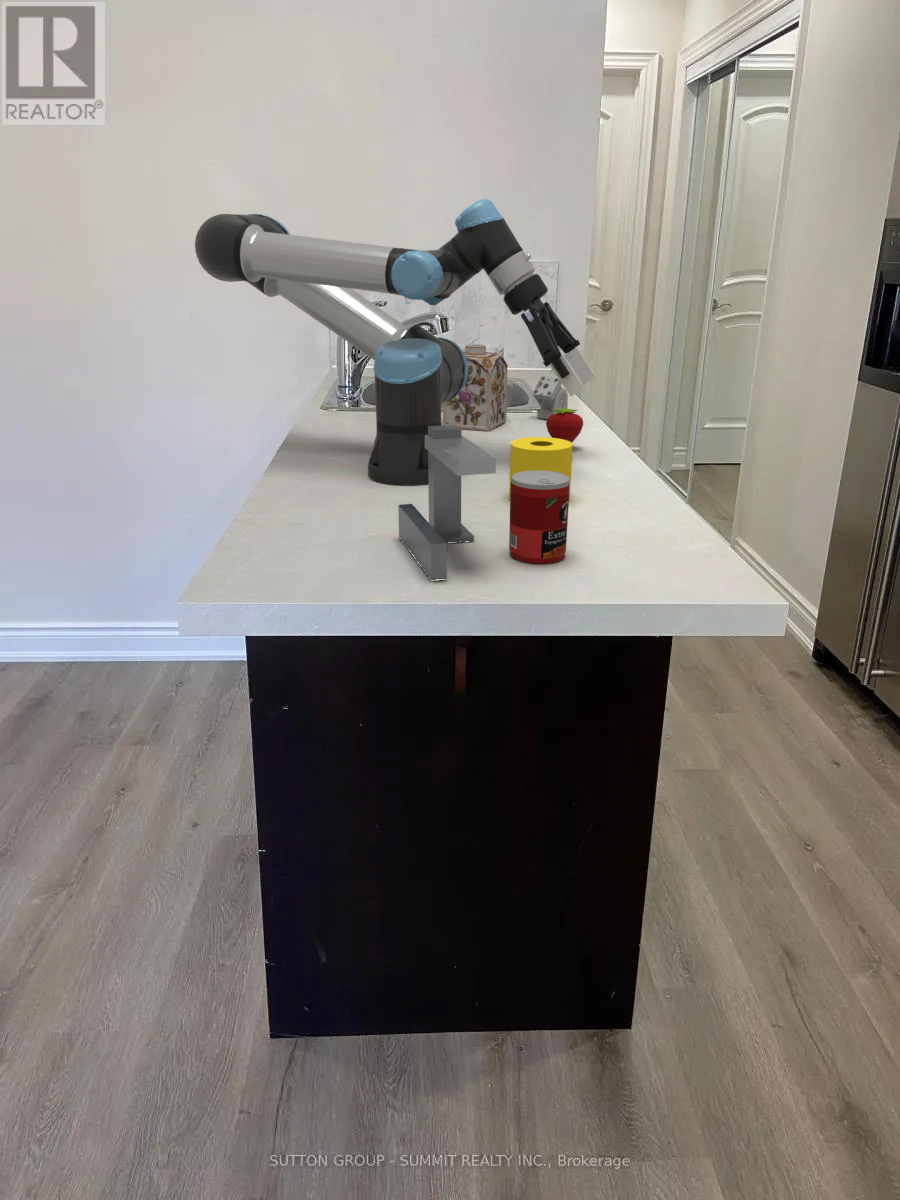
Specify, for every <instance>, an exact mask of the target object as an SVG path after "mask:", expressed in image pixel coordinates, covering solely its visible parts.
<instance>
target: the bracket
mask: <svg viewBox="0 0 900 1200" xmlns="http://www.w3.org/2000/svg"><path fill="white" fill-rule="evenodd" d="M462 431H463V429H461V428H459V427H458V426H457V425H443V424H441V426H428V435H425V448H426V449H427V450H428V481H429V483H428V520H427V519H426V518H425V517H424V516H423V514H422V513H420V511H419V510H418V508H416V506H415V505H414V504H413V503H404V504H403V503H402V504H398V505H397V507H398V538H399V537H400V538H401V540H402V541H403V543H404V544H405V545H406V546H407V548H408V549H409V550H410V551H411V553H412V554H413V555H414V557H415V558H416V560H417V561H418V562H419V564H420V565H421V566H422V568H423V569H424V570H425V572H426V573H427V575H428V576H429V577H430V579H431V580H436V579H447V576H448V575H447V573H448V571H447V570H448V569H447V567H448V563H447V562H448V561H447V557H448V556H447V554H448V553H447V552H448V551H447V550H448V549H447V547H448V546H447V545H448V544H447V543H448V542H460V541H461V542H462V543H464V542H463V541H473V542H475V536H474V535H473V533H472V532H470V530H469V529H468V528H466V526H465V525H464V524H463V523H462V476H474V475H475V476H476V475H489V474H496V473H497V459H496V457H494V456H492V455H491V454H489V453H488V452H486V451H485V450H484V449H482V448H481V447H480V446H478V445H477V444H475V443H473V442H472V441H471V440H469V438H466V437H465V436H463V434H462ZM401 540H400V541H401ZM402 541H401V542H402ZM403 543H402V544H403ZM404 544H403V545H404ZM405 545H404V546H405ZM407 548H406V549H407ZM408 549H407V550H408ZM411 553H410V554H411ZM414 557H413V558H414ZM416 560H415V561H416ZM419 564H418V565H419ZM422 568H421V569H422ZM425 572H424V573H425ZM427 575H426V576H427ZM428 576H427V577H428ZM430 579H429V580H430ZM431 580H430V581H431Z"/></svg>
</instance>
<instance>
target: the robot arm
mask: <svg viewBox="0 0 900 1200" xmlns="http://www.w3.org/2000/svg"><path fill="white" fill-rule="evenodd" d="M454 225H455V227H456V229H457V230H456V231H457V233H456V234H455V235H454V236H453V237H452V238H451V239H450V240H448V241H447V242H446V243H445V244H443V245H442V246H441V247H439V248H438V249H431V250H430V249H429V250H421V249H410V248H404V247H403V248H402V247H394V246H393V247H392V246H386V245H378V244H377V245H376V244H369V243H360V242H352V241H344V240H336V239H327V238H319V237H310V236H302V235H295V234H291V232H289V230H288V228H286V226H285V225H284V224H282V223H281V222H280V221H279V220H277V219H275V218H273V217H271V216H268V215H264V214H263V213H262V214H260V213H250V214H239V213H238V214H237V213H235V214H233V213H219V214H216V215H213V216H211V217H209V218H208V219H207V220H205V221H203V223H202V224H201V225H200V226H199V229H198V230H197V233H196V235H195V240H194V249H195V250H194V251H195V255H196V258H197V261H198V263H199V264H200V266H201V268H202V269H203V270H204V271H205V272H206V273H207V274H208V275H210V276H211V277H212V278H214V279H216V280H219V281H223V282H230V283H232V282H235V283H236V282H246V283H247V284H249V285H251V286H252V287H254V288H255V289H256V290H258V291H259V292H261V293H262V294H264V295H266V296H267V297H268V298H273V297H277V296H280V297H282V298H284V299H285V300H287V301H288V302H289V303H290V304H292V305H294V306H295V307H297V308H298V309H300V310H301V311H303V312H304V313H305V314H307V316H309V317H311V318H312V319H314V320H315V321H317V322H318V323H320V324H321V325H323V326H324V327H325V328H327V329H328V330H329V331H331V332H333V333H334V334H335V335H337V336H338V337H340V338H341V339H343V340H345V342H347V343H349V344H350V346H353V347H354V348H356V349H358V351H360V352H361V353H363V354H365V355H366V356H367V357H369V358H371V360H373V361H374V363H373V372H374V394H375V418H376V419H375V420H376V421H375V422H376V423H375V424H376V432H375V433H376V435H375V439H374V442H373V445H372V448H371V452H370V455H369V459H368V462H367V463H368V464H367V473H368V474H367V475H368V477H369V479H371V480H373V481H375V482H378V483H383V484H389V485H398V486H400V485H402V486H407V485H408V486H412V485H416V486H417V485H427V484H428V485H429V481H428V450H427V449H426V448H425V435H428V426H442V405H443V403H444V402H448V401H450V400H452V399H453V398H454V397H455V396H457V395H458V393H459V392H460V391H461V390H462V388H463V387H464V385H465V383H466V381H467V377H468V363H467V359H466V356H465V354H464V352H463V351H464V350H463V349H462V348H461V346H460V345H458V344H457V343H456V342H455V341H453V340H450V339H449V338H444V337H437V336H435V335H434V334H432V333H431V332H429V331H428V330H427V329H425V328H423V327H422V326H420V325H419V324H417V323H413V324H412V323H411V324H406V325H405V324H403V323H402V322H401V321H399V320H397V319H396V318H394V317H393V316H392V315H390V314H389V313H387V312H386V311H384V310H383V309H381V308H380V307H378V306H377V305H376V304H374V303H373V302H371V300H368V299H367V298H366V297H364V296H363V295H361V294H360V293H358V292H357V291H355V290H358V291H359V290H360V291H368V292H373V293H374V292H375V293H381V294H382V293H383V294H390V295H395V296H402V297H404V298H406V299H410V300H413V301H414V300H416V301H419V300H421V301H423V302H424V303H427V304H428V305H429V306H437V305H438V304H440V303H441V302H443V301H444V300H447V299H449V298H450V297H451V296H452V295H453V293H455V292H456V291H457V290H458V289H460V288H461V287H462V286H463V285H464V284H466V283H467V282H468V281H469V280H471V279H472V278H473V277H474V276H476V275H477V274H479V273H480V272H482V271H483V270H484V271H483V272H485V273H486V275H487V277H488V278H489V280H490V282H491V284H492V285H493V286H494V288H495V290H496V292H498V294H499V295H500V296H503V302H504V304H505V305H506V306H507V309H509V311H510V313H511V314H512V315H514V316H515V315H518V314H520V313H521V312H522V313H521V314H520V317H521V319H522V320H523V322H524V324H525V325H526V326H527V329H528V332H529V333H530V335H531V337H532V339H533V341H534V343H535V346H536V348H537V349H538V350H537V351H539V354H540V356H541V358H542V361H543V362H542V363H543V365H544V366H545V367H546V368H547V367H549V366H550V367H551V368H552V370H553V371H554V373H555V375H556V377H557V378H559V379H560V381H561V382H562V384H561V385H562V386H563V387H564V389H565V390H566V391H567V394H568V395H569V396H570V397H573V396H574V395H575V394H577V393H578V392H581V391H582V390H583V389H584V388H585V386H584V385H586V384H587V383H589V382H590V381H591V380H593V379H594V378H596V374H595V373H594V371H593V369H592V368H591V367H590V365H589V364H588V362H587V360H586V359H585V357H584V356H583V354H582V352H581V350H580V349H579V348H578V346H580V345H581V341H579V339H576V338H575V337H574V336H573V335H572V334H571V332H570V331H569V329H568V328H567V327H566V326H565V324H564V323H563V322H562V321H561V319H560V318H559V317H558V315H557V314H556V313H555V311H554V310H553V309H552V307H551V305H550V303H549V302H547V301H545V302H544V303H543V301H542V300H541V298H542V297H544V296H545V295H546V294H547V292H548V291H549V288H548V287H547V285H546V283H545V282H544V280H543V279H542V278H541V276H540V275H539V274H538V273H534V272H535V271H536V270H535V269H536V268H535V267H534V265H533V264H532V262H531V261H530V259H531V258H532V256H531V254H530V253H525V251H524V249H523V248H522V246H521V245H520V243H519V241H518V240H517V239H516V236H515V234H514V233H513V232H512V230H511V228H510V226H509V224H508V223H507V222H506V220H505V218H504V216H502V215H501V213H500V212H499V210H498V209H497V208H496V206H495V205H494V203H493V202H492V201H491V200H490V199H489V198H482V199H479V200H477V201H474V202H473V203H472V204H470V205H469V206H468V207H466V208H465V209H464V210H463V211H462V212H461V213H460V214H459V215H458V216H457V217H456V218H455V221H454ZM560 350H561V351H562V352H563V353H564V354H565V355H562V353H561V351H560Z"/></svg>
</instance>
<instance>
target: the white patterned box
mask: <svg viewBox="0 0 900 1200" xmlns="http://www.w3.org/2000/svg"><path fill="white" fill-rule="evenodd" d="M464 347H465V348H464V350H462V351H463V352H464V354H465V356H466V359H467V363H468V377H467V381H466V383H465V385H464V387H463V388H462V390H461V391H460V392H459V393H458V395H457V396H455V397H454V398H453V399H452V400H450V401H448V402H444V403H442V425H457V426H458V427H459V428H461V429H462V430H464V429H465V430H466V431H477V432H487V431H489V432H491V431H492V429H493V430H494V429H496V428H498V427H500V426H501V425H504V424H505V423H507V409H508V408H507V405H508V364H507V362H506V359H505V357H504V356H503V355H501V354H500V353H496V352H489V351H487V346H486V344H482V343H481V344H476V343H472V344H470V343H469V344H465V346H464ZM503 423H504V424H503ZM499 425H500V426H499ZM497 426H498V427H497ZM495 427H496V428H495ZM465 430H464V431H465Z"/></svg>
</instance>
